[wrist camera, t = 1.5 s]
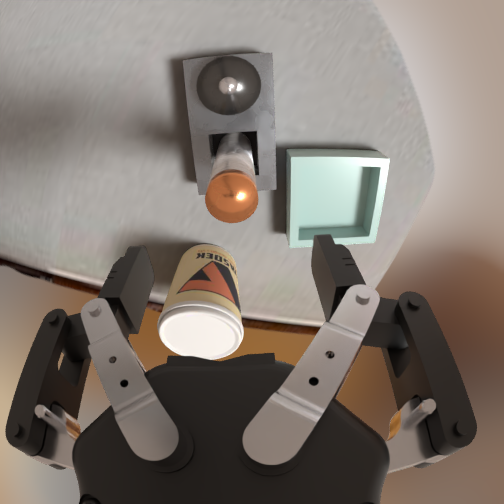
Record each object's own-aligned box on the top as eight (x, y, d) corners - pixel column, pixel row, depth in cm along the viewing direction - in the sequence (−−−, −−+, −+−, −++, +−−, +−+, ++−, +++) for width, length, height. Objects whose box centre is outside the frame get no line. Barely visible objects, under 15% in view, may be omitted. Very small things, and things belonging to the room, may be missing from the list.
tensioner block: (188, 61, 22) (178, 59, 19) (269, 54, 22) (274, 51, 19) (202, 184, 31) (196, 202, 27) (273, 179, 31) (278, 197, 27)
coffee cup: (255, 257, 37) (260, 329, 28) (221, 299, 42) (218, 369, 32) (191, 226, 34) (174, 296, 24) (164, 275, 39) (145, 344, 29)
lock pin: (217, 133, 27) (202, 177, 17) (250, 131, 27) (257, 173, 17) (220, 163, 29) (208, 224, 19) (251, 160, 29) (259, 221, 19)
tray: (286, 149, 29) (291, 157, 26) (378, 150, 29) (389, 159, 26) (285, 234, 35) (289, 248, 33) (366, 230, 35) (374, 242, 33)
